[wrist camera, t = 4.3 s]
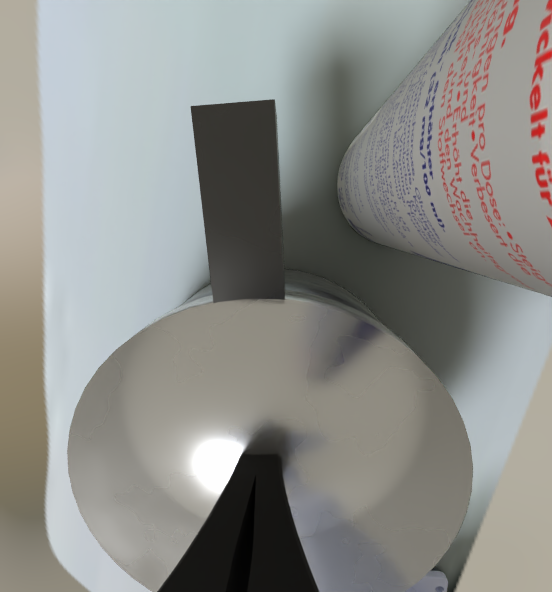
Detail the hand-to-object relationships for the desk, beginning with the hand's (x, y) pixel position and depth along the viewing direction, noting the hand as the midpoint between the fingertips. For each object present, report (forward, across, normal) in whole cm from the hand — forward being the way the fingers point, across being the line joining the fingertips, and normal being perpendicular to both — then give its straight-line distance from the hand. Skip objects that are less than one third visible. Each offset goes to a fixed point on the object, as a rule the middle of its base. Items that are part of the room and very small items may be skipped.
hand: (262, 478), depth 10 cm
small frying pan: (+1, 0, -2) cm, 2 cm away
